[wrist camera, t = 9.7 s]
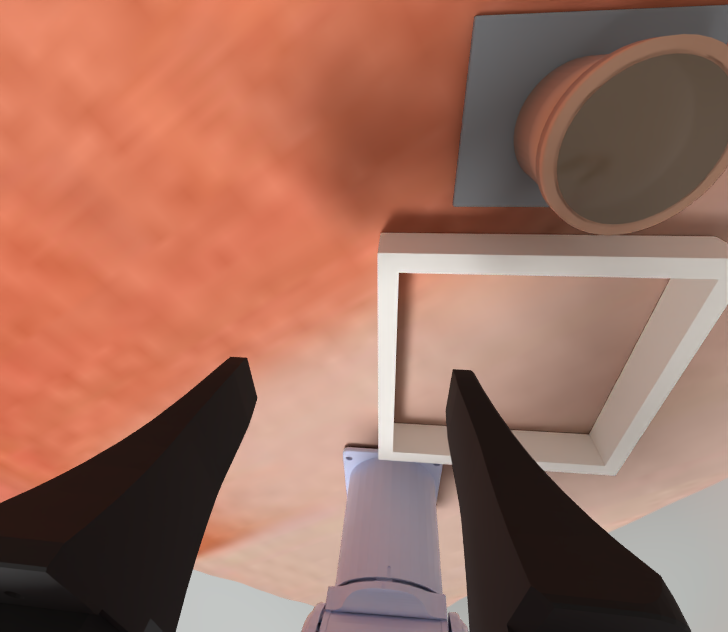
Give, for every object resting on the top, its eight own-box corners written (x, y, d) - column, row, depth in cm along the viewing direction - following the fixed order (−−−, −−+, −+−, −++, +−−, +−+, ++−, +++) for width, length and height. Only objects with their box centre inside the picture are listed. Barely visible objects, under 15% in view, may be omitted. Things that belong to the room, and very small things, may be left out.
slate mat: (650, 204, 17) (655, 207, 16) (452, 203, 17) (453, 206, 17) (735, 5, 13) (744, 3, 12) (474, 17, 13) (475, 15, 13)
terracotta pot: (619, 193, 16) (694, 236, 12) (495, 193, 17) (526, 234, 12) (675, 42, 13) (802, 29, 9) (521, 47, 13) (573, 37, 9)
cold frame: (598, 444, 26) (615, 475, 24) (380, 430, 28) (378, 459, 26) (715, 236, 17) (757, 259, 15) (380, 232, 19) (377, 252, 16)
